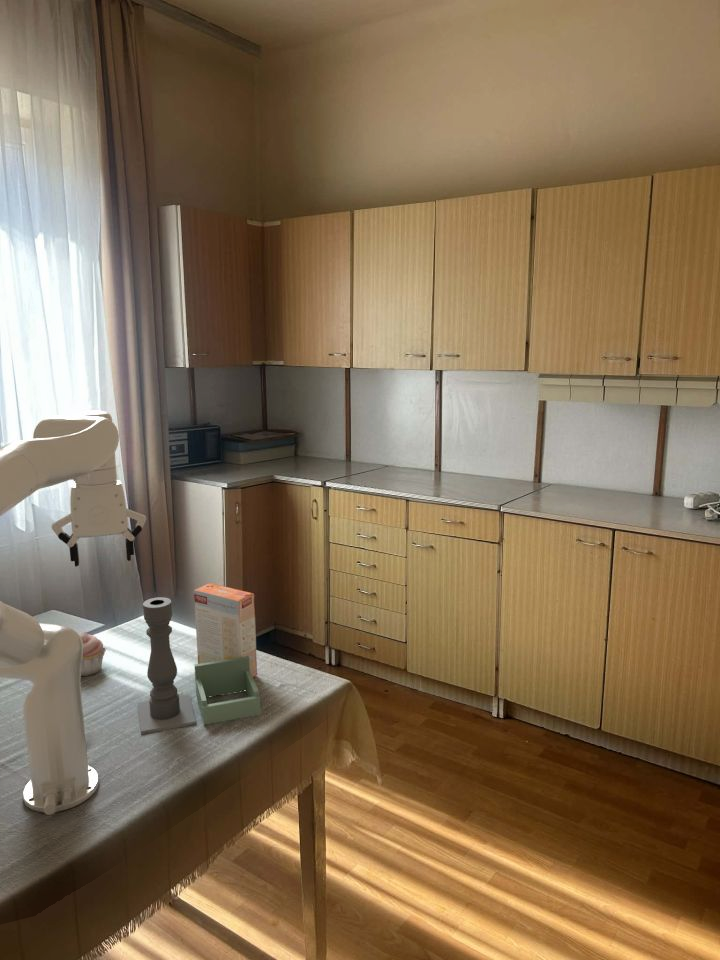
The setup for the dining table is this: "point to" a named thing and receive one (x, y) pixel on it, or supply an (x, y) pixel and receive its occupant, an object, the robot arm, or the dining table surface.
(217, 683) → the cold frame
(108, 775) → the dining table surface
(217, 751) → the dining table surface
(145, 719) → the slate mat
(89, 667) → the cupcake
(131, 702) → the dining table surface
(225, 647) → the cracker box
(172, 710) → the candle holder
